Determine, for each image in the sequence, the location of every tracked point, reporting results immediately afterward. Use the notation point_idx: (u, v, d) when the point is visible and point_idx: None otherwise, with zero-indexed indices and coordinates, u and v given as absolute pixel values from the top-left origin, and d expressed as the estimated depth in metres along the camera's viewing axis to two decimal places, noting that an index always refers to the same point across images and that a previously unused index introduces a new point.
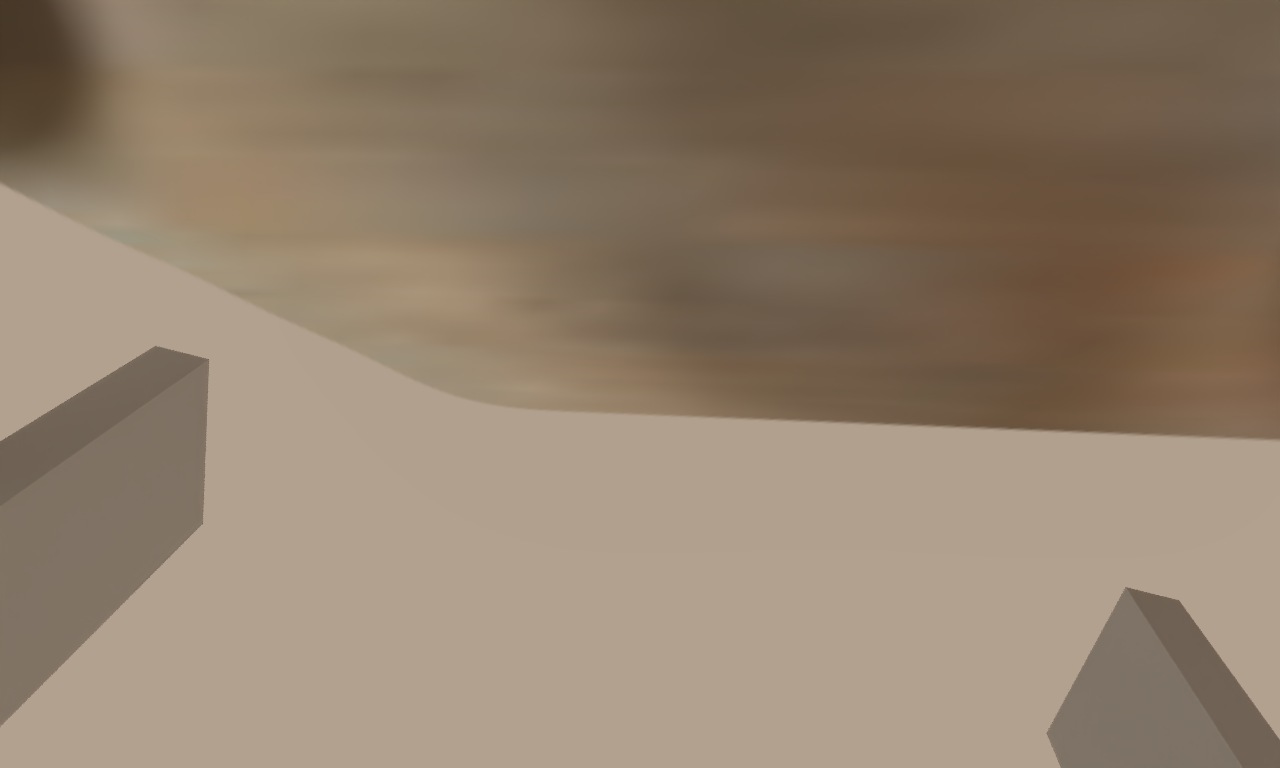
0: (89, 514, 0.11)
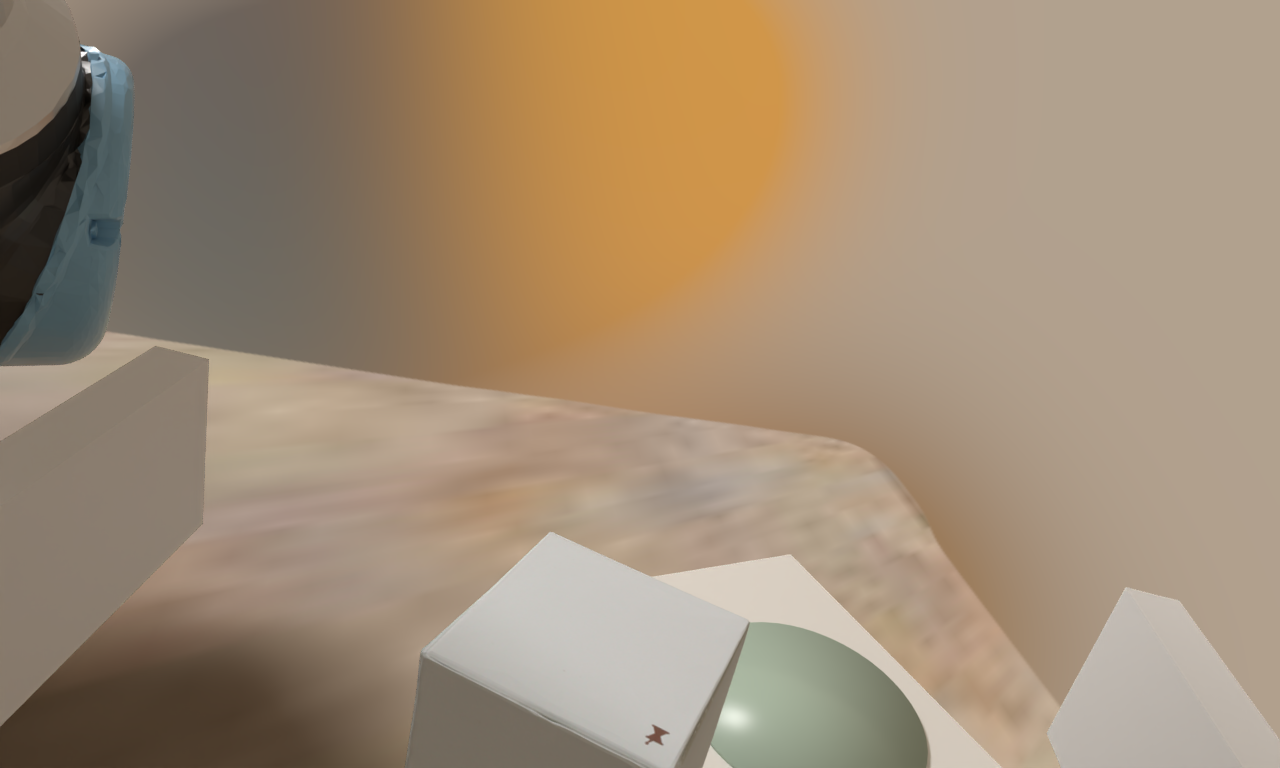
0: (89, 514, 0.11)
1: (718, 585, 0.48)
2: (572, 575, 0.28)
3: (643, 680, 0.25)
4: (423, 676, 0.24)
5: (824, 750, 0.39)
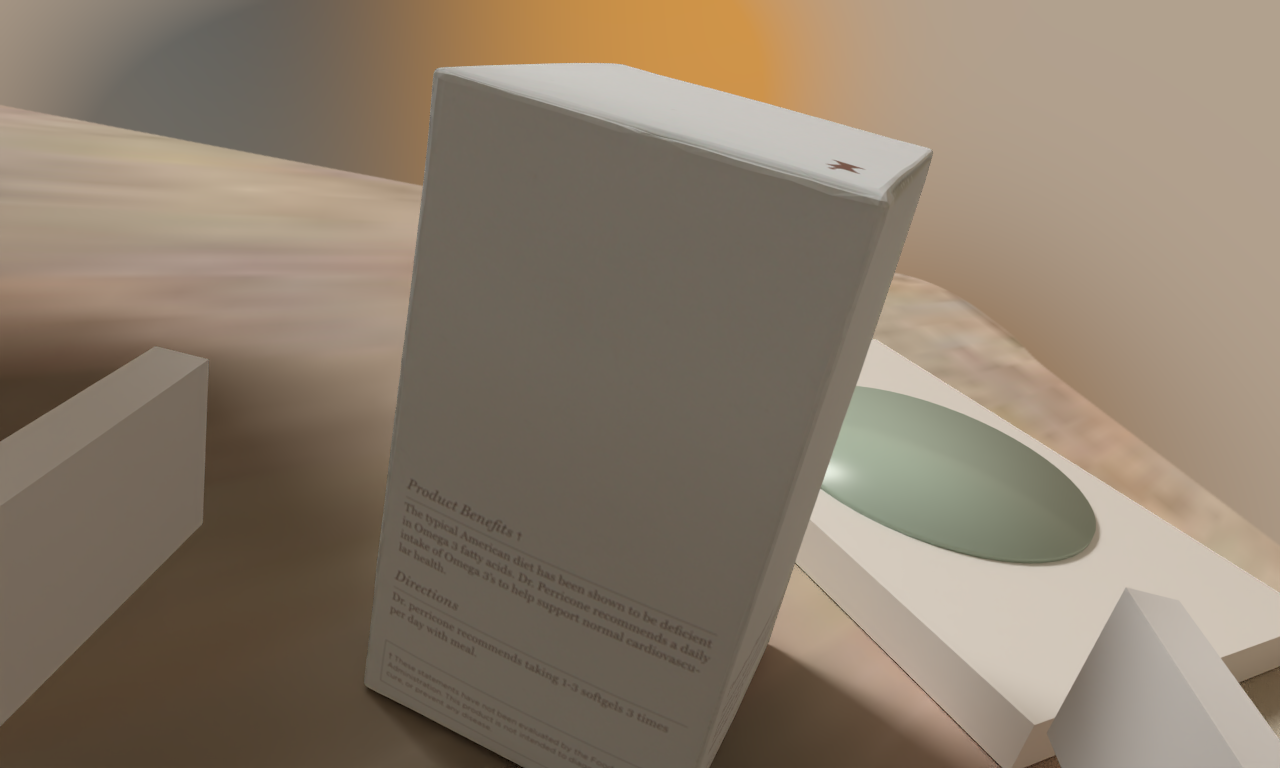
0: (89, 514, 0.11)
1: None
2: (662, 79, 0.18)
3: (802, 137, 0.15)
4: (439, 112, 0.14)
5: (963, 499, 0.29)
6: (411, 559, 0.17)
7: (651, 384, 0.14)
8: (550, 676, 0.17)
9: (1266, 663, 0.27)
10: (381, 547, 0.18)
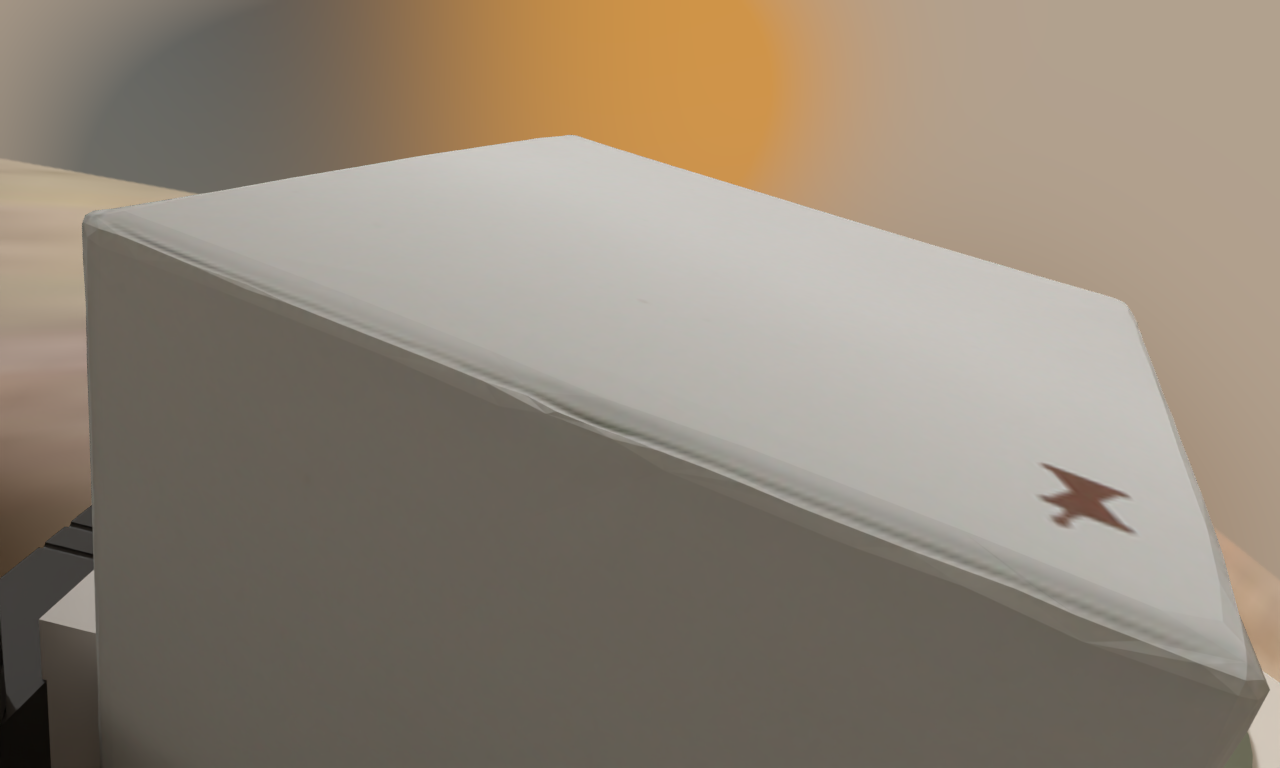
0: None
1: None
2: (636, 176, 0.10)
3: (933, 353, 0.07)
4: (96, 314, 0.06)
5: None
6: None
7: None
8: None
9: None
10: None
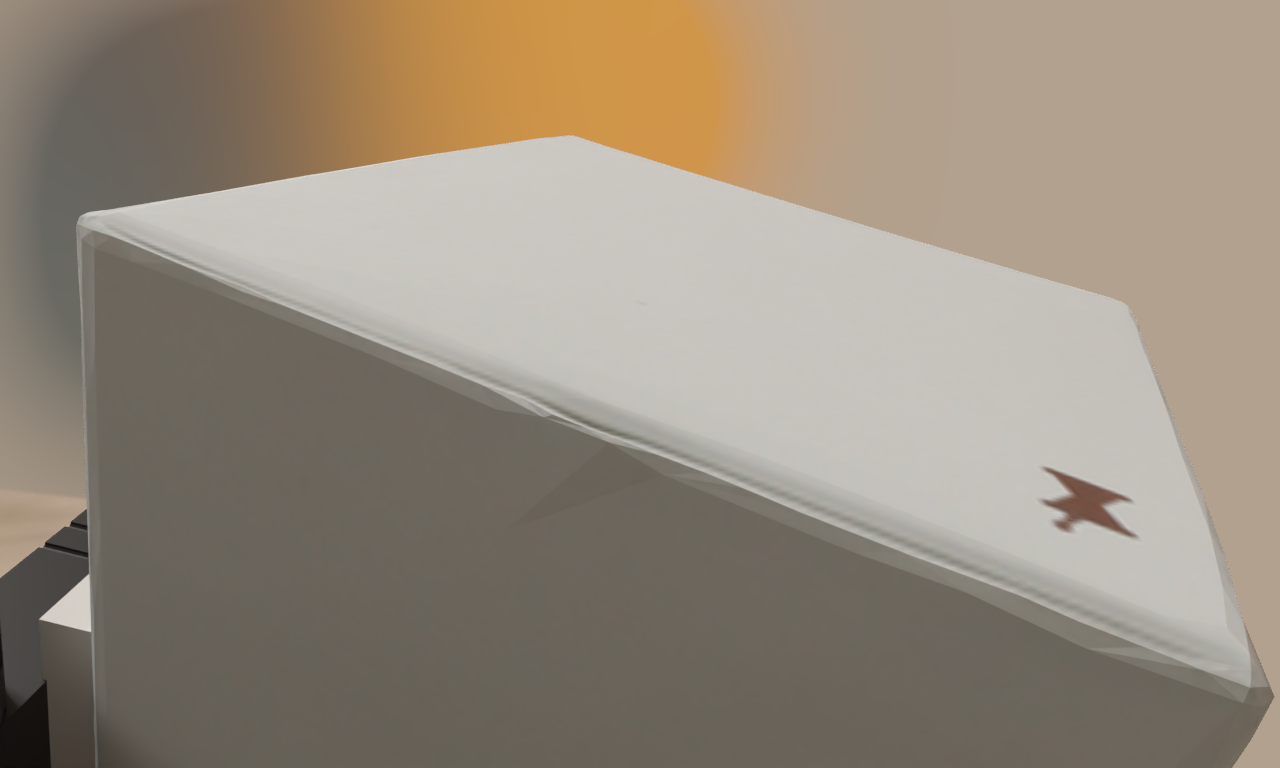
0: None
1: None
2: (635, 176, 0.10)
3: (932, 357, 0.07)
4: (91, 317, 0.06)
5: None
6: None
7: None
8: None
9: None
10: None
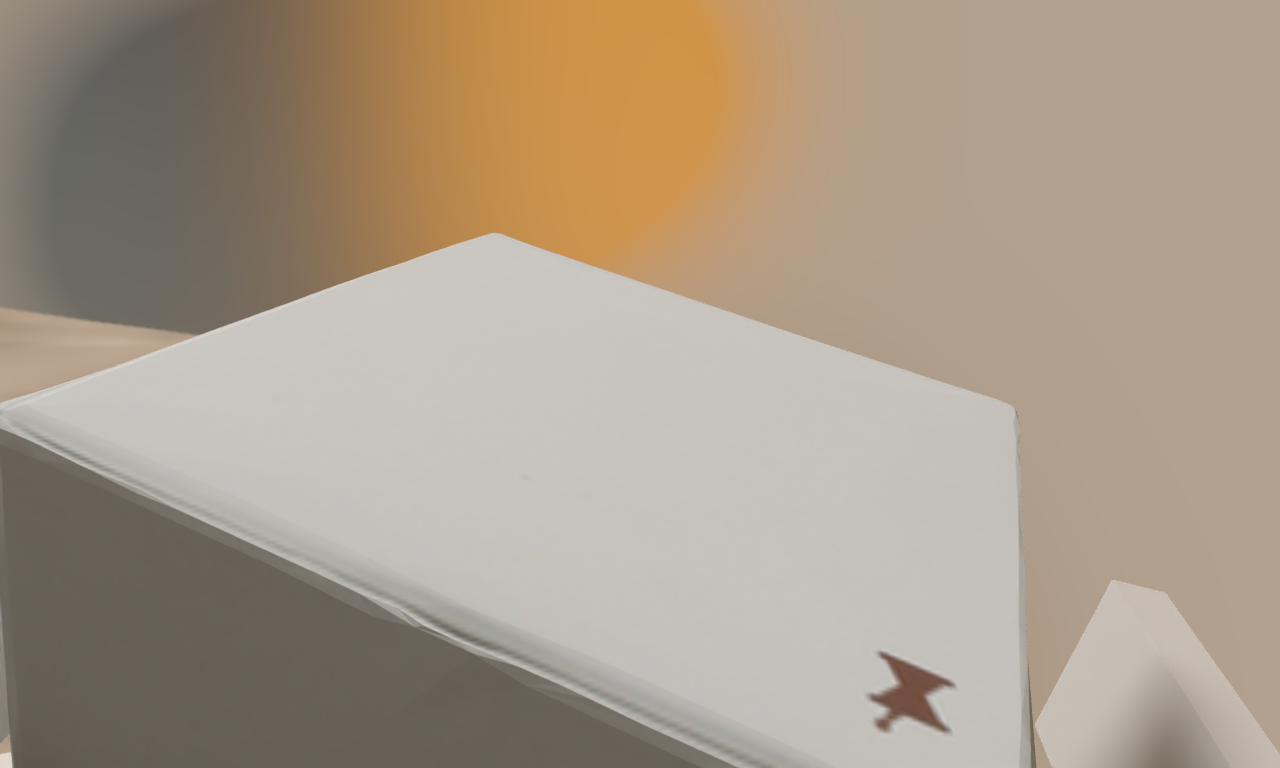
0: None
1: None
2: (549, 292, 0.10)
3: (800, 513, 0.07)
4: (0, 503, 0.06)
5: None
6: None
7: None
8: None
9: None
10: None
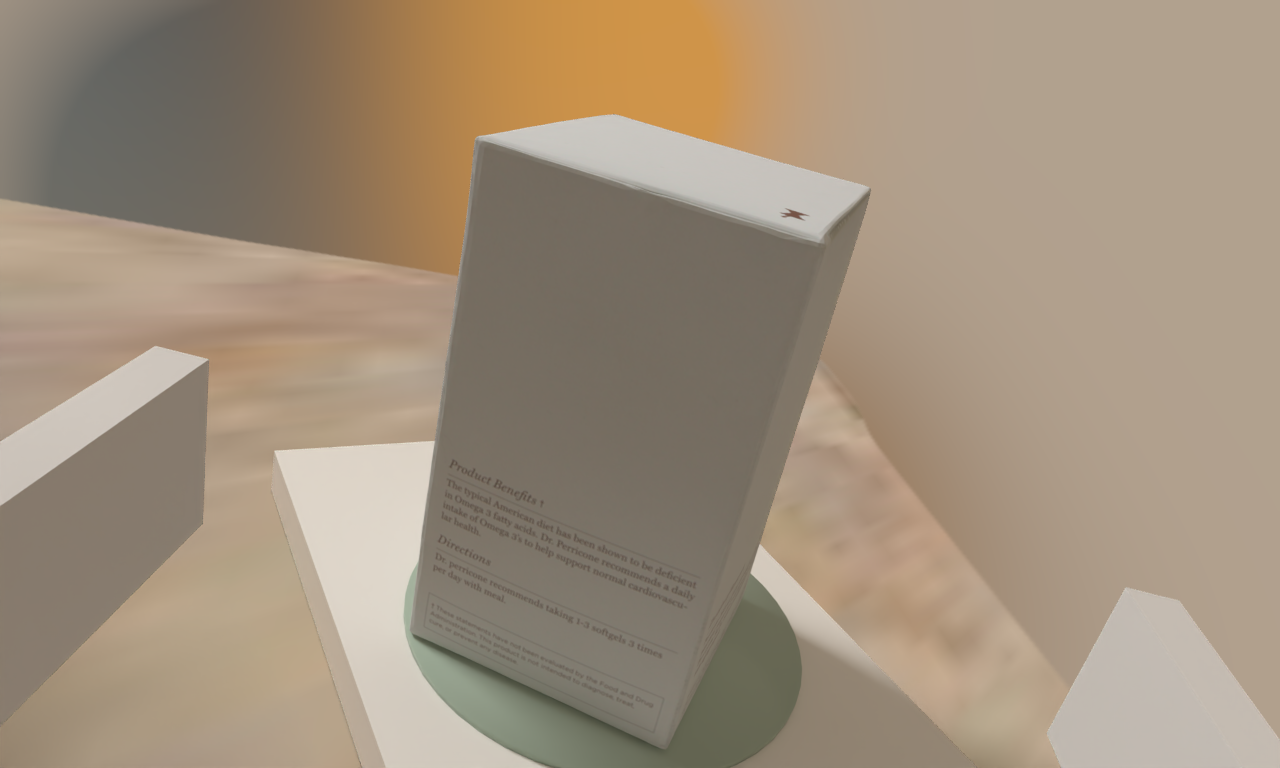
0: (89, 514, 0.11)
1: None
2: (650, 131, 0.22)
3: (762, 186, 0.19)
4: (479, 171, 0.18)
5: None
6: (451, 525, 0.21)
7: (647, 381, 0.18)
8: (567, 616, 0.21)
9: None
10: (426, 516, 0.22)
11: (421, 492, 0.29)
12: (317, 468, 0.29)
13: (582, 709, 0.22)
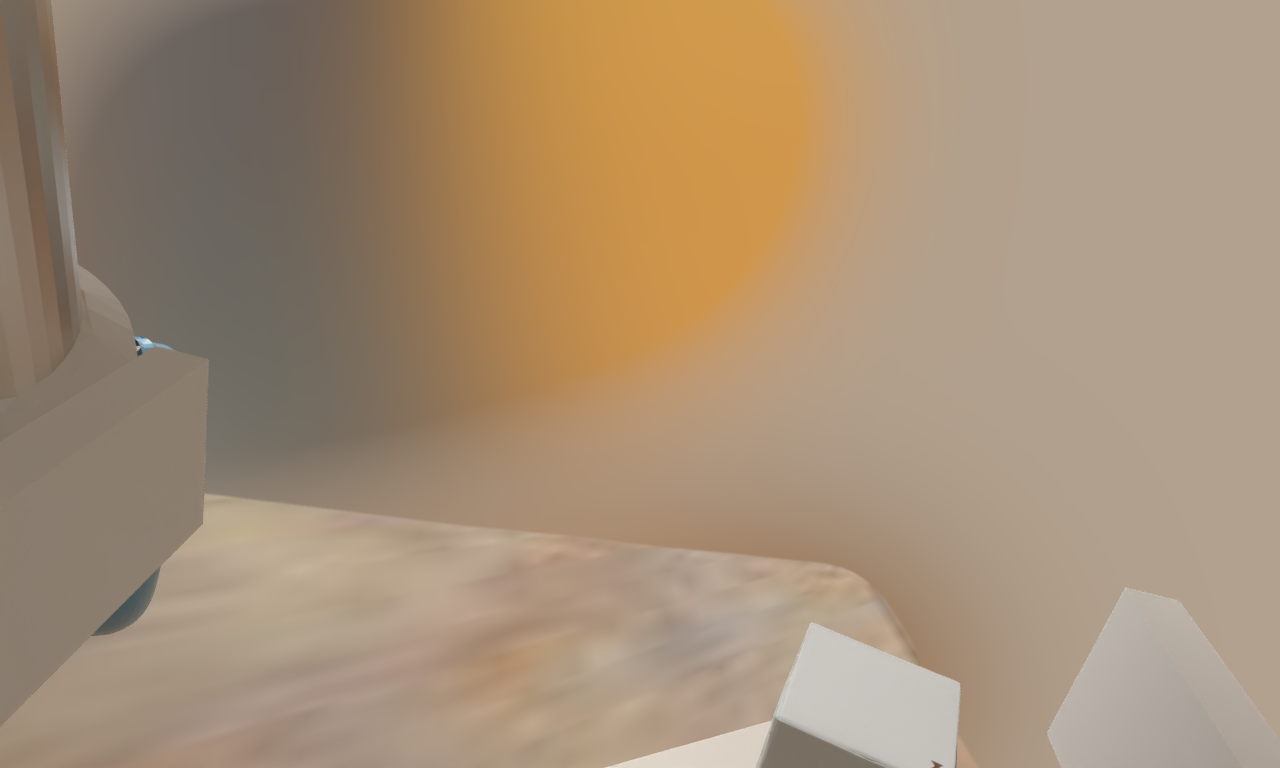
0: (89, 514, 0.11)
1: (719, 758, 0.51)
2: (840, 655, 0.41)
3: (914, 730, 0.37)
4: (776, 732, 0.37)
5: None
6: None
7: None
8: None
9: None
10: None
11: None
12: None
13: None
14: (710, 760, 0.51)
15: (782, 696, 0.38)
